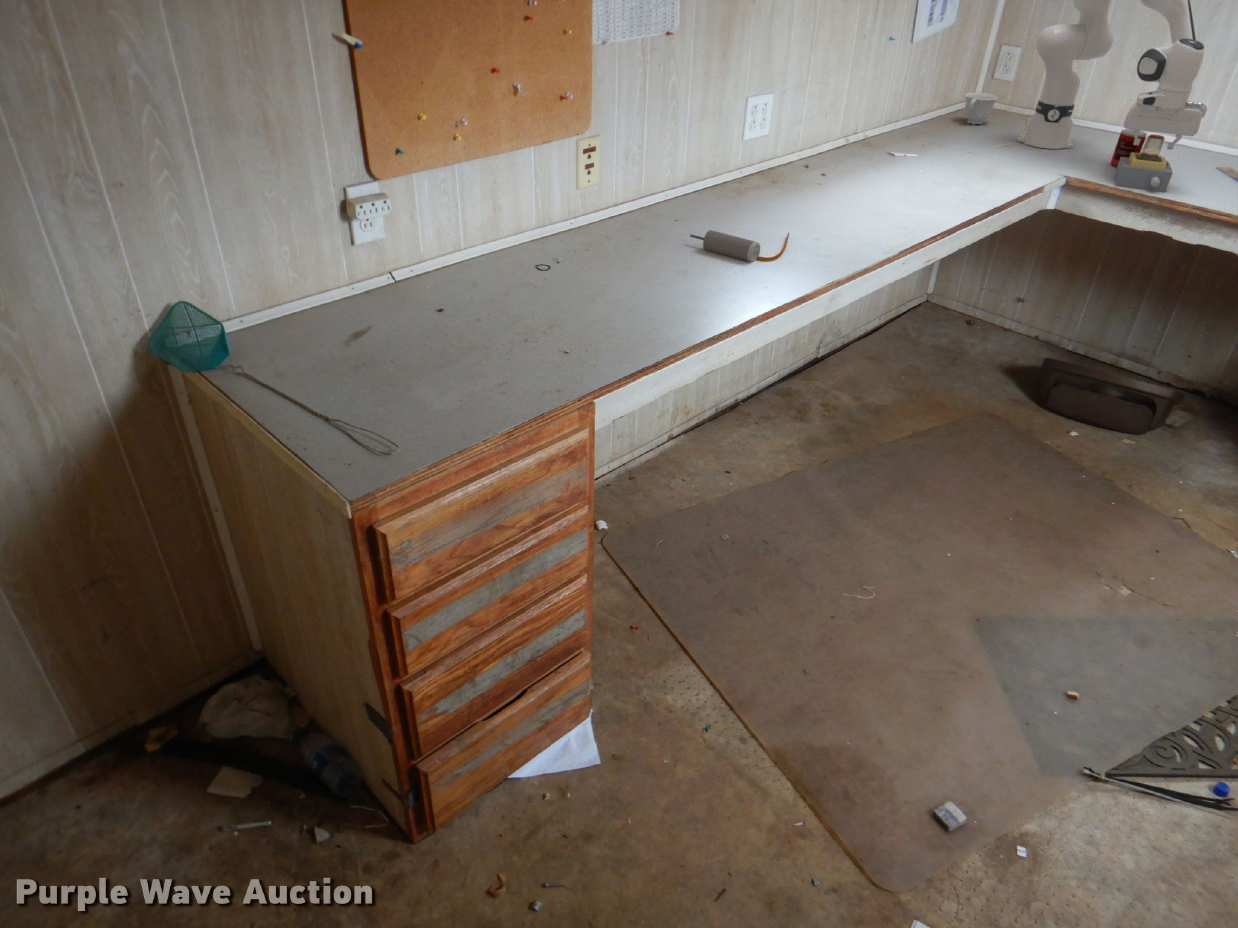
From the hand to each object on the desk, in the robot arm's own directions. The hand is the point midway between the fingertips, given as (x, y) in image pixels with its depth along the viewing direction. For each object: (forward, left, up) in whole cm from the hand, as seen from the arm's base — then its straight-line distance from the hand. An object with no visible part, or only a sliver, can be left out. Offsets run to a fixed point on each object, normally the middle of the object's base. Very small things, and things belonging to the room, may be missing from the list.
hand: (1152, 147), depth 266 cm
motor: (+110, -97, -12) cm, 147 cm away
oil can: (0, 0, -5) cm, 5 cm away
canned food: (-20, -4, -12) cm, 23 cm away
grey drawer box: (+2, 0, -11) cm, 11 cm away
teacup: (-56, -55, -12) cm, 79 cm away
